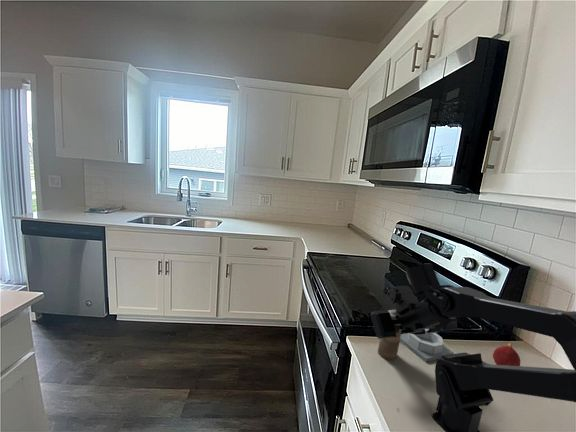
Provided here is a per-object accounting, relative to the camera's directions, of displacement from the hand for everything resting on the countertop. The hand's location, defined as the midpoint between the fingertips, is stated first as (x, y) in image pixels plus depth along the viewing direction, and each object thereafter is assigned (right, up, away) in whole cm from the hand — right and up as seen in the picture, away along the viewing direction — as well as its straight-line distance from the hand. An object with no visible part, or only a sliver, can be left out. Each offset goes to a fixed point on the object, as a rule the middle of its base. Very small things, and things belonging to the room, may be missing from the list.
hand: (387, 329), depth 77 cm
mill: (0, -7, 0) cm, 7 cm away
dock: (+13, -7, +5) cm, 15 cm away
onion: (+31, -11, -2) cm, 33 cm away
